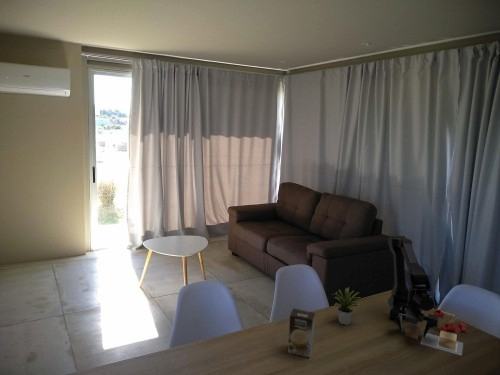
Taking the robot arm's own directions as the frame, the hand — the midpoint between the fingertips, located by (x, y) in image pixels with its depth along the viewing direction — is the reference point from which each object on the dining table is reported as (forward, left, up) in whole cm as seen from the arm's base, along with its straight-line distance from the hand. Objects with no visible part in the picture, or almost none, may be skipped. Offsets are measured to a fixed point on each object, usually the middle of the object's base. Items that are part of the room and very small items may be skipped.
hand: (412, 334), depth 163 cm
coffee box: (-36, -37, -2) cm, 51 cm away
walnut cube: (0, 0, -1) cm, 1 cm away
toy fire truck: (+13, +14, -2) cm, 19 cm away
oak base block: (+13, 0, 0) cm, 14 cm away
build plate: (+11, 0, -1) cm, 12 cm away
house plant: (-29, -5, -2) cm, 29 cm away
